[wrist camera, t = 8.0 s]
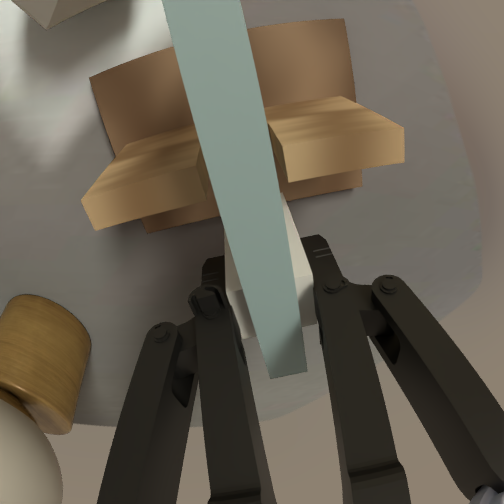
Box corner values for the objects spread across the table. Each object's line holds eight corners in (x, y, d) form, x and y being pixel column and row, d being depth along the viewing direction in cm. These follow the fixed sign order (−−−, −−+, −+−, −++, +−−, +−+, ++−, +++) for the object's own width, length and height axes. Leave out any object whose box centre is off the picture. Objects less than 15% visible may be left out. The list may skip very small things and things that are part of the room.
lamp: (-33, 265, 24) (-125, 468, 3) (66, 258, 24) (-25, 554, 4) (25, 356, 33) (-17, 527, 12) (116, 362, 33) (93, 571, 13)
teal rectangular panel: (254, 264, 19) (270, 379, 13) (192, 19, 11) (158, -15, 5) (280, 258, 19) (307, 371, 13) (227, 11, 11) (231, -33, 5)
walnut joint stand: (149, 226, 24) (123, 313, 16) (94, 76, 17) (20, 101, 9) (357, 180, 23) (414, 251, 16) (338, 19, 16) (412, 9, 8)
